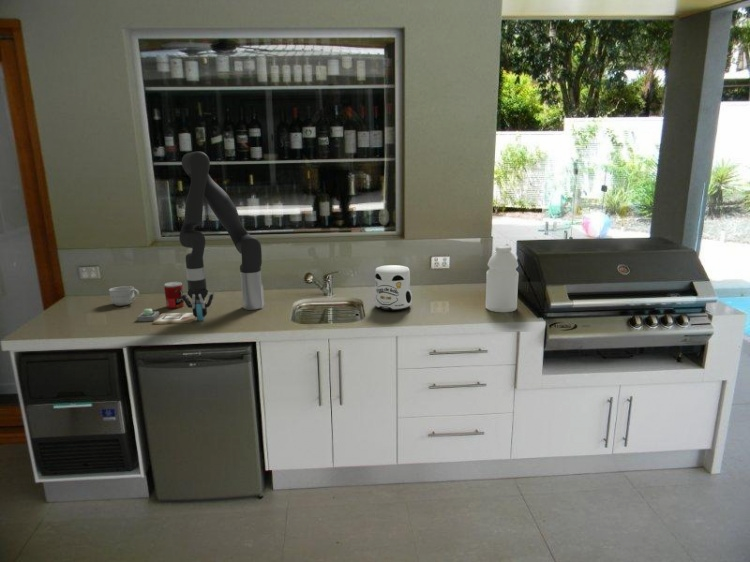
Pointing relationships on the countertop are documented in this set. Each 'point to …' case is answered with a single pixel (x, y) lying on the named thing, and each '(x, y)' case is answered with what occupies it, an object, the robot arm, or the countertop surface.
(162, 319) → the board
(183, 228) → the robot arm
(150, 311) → the mint green capsule
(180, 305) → the canned food
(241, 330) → the countertop surface
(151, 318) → the button housing
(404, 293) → the milk container
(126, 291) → the teacup
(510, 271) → the bottle
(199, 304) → the marker
